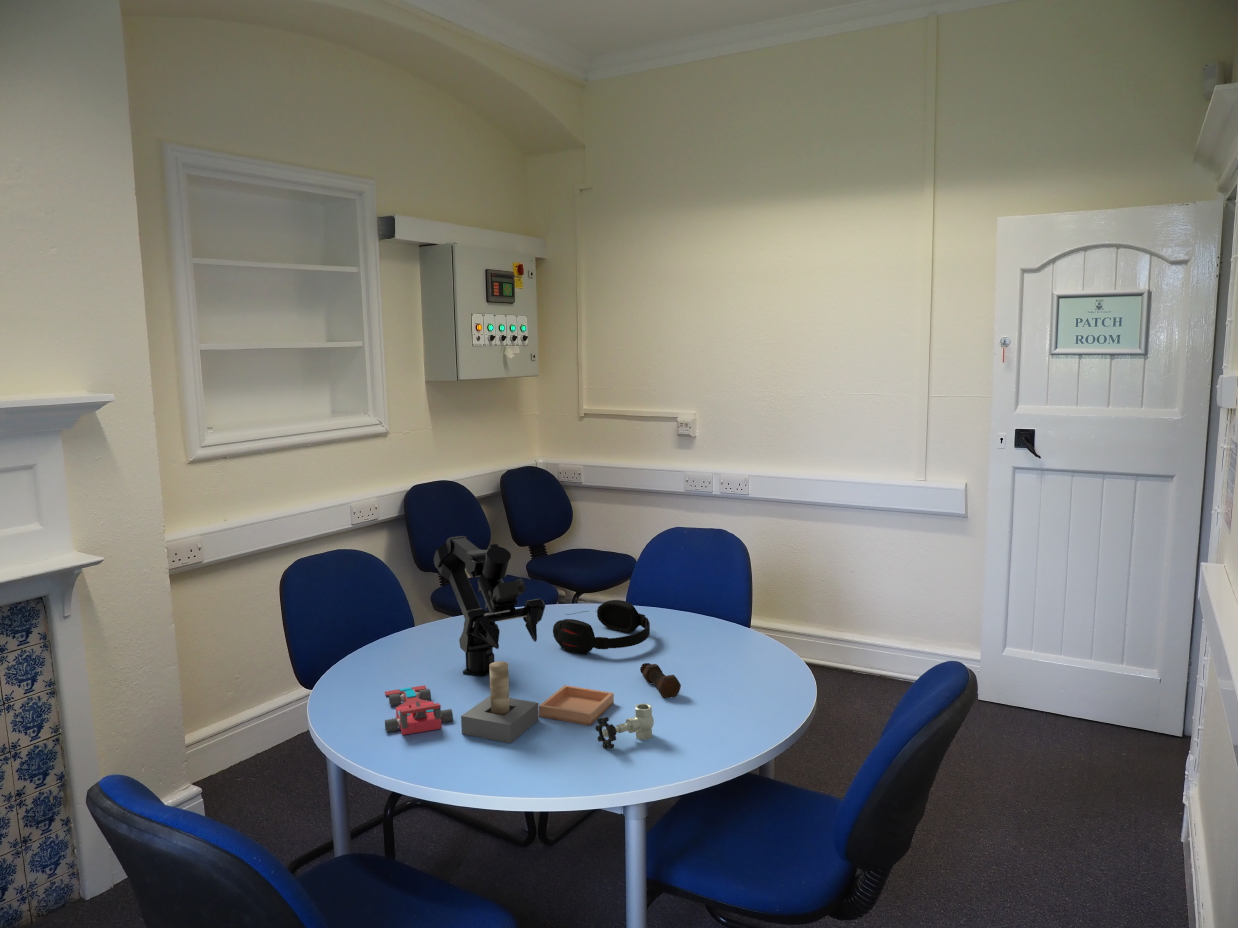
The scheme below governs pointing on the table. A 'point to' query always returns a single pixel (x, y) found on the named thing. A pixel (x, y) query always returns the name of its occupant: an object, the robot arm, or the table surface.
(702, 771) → the table surface
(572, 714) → the tray
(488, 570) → the robot arm
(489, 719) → the holder
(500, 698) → the dowel
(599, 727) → the valve
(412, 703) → the race car
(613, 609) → the headset
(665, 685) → the bolt
